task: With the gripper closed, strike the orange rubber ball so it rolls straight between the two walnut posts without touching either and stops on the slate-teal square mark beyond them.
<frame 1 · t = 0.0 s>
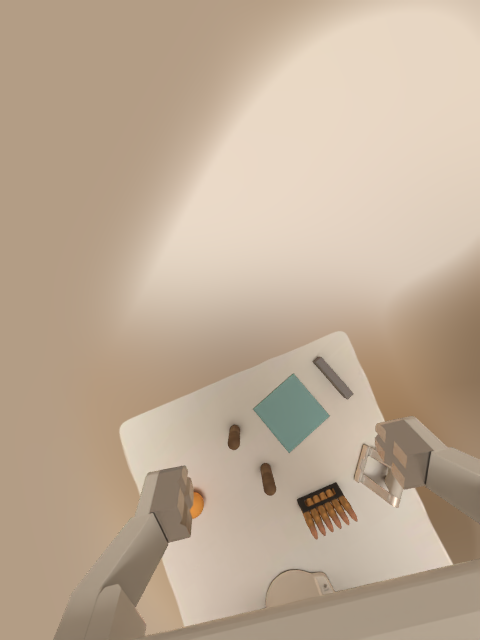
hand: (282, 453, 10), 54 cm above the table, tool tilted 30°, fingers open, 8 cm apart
post 1: (234, 430, 62), on the table
ball: (193, 505, 58), on the table
ammunition clip: (317, 494, 60), on the table
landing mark: (291, 412, 63), on the table
post 2: (265, 468, 61), on the table
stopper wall: (330, 376, 64), on the table
portable electronic device stand: (372, 465, 61), on the table
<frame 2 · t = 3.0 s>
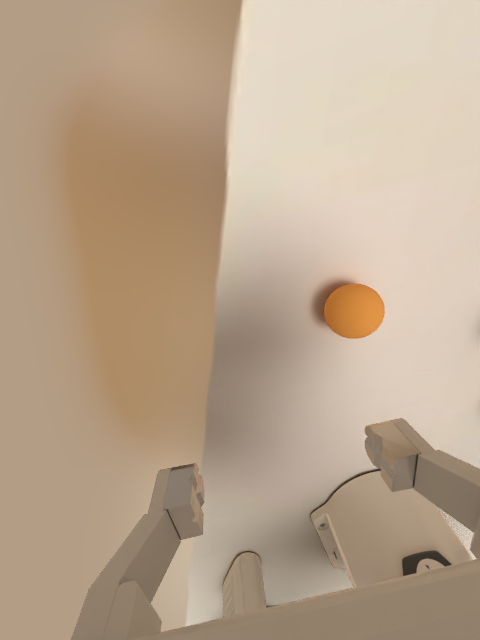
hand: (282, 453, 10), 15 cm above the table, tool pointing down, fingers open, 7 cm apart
ball: (352, 311, 22), on the table
photo printer: (240, 567, 40), on the table
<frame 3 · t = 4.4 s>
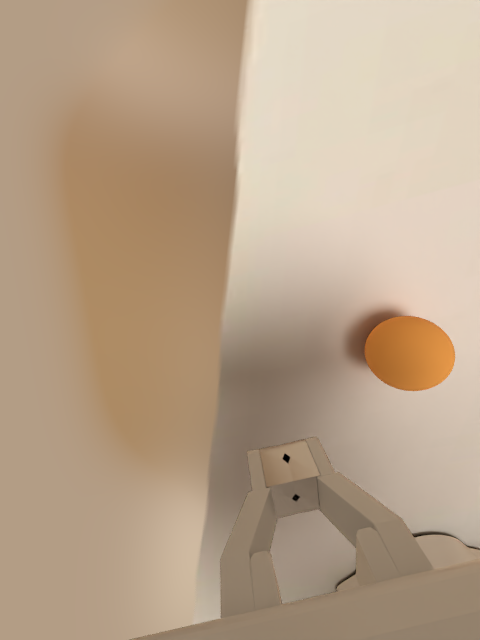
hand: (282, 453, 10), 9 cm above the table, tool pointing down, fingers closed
ball: (405, 352, 16), on the table
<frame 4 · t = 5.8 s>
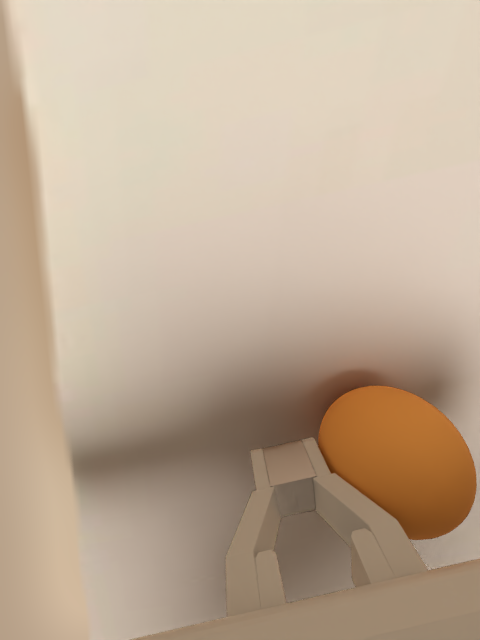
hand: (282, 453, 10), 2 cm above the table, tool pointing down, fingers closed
ball: (386, 452, 9), on the table, touching gripper
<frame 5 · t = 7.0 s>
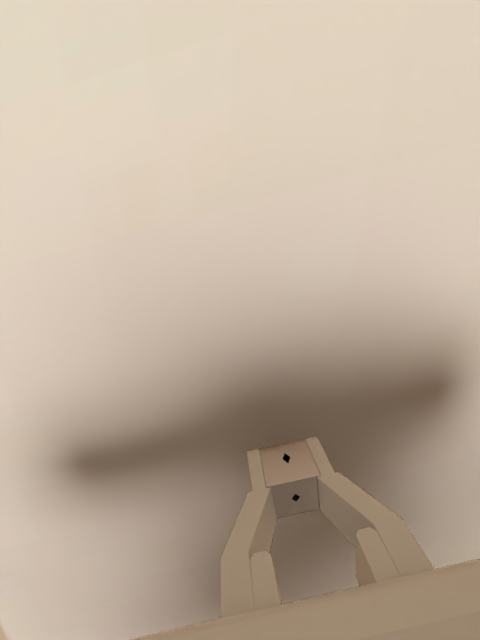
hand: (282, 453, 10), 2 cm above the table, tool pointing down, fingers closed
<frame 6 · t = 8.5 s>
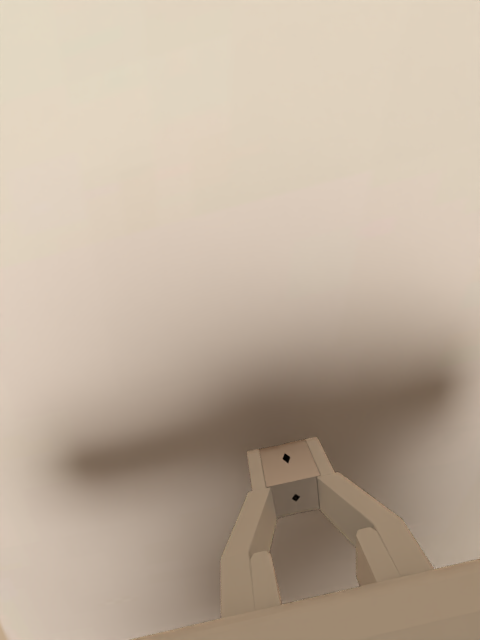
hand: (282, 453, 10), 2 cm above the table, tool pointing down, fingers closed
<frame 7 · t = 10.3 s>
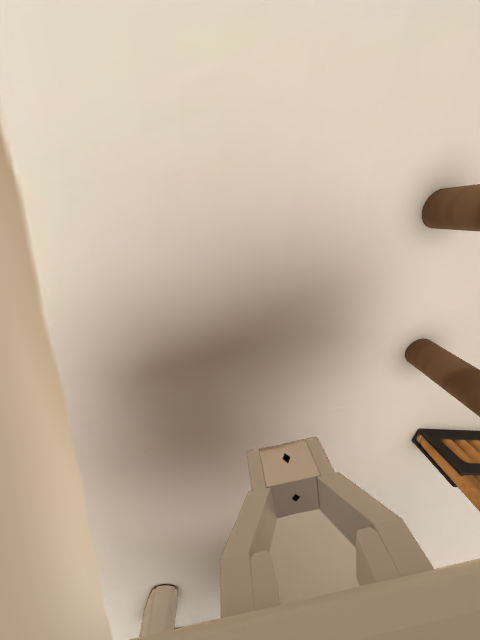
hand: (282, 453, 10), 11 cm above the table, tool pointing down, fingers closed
post 1: (440, 208, 17), on the table
ammunition clip: (454, 434, 28), on the table
post 2: (419, 351, 22), on the table
photo printer: (161, 597, 37), on the table
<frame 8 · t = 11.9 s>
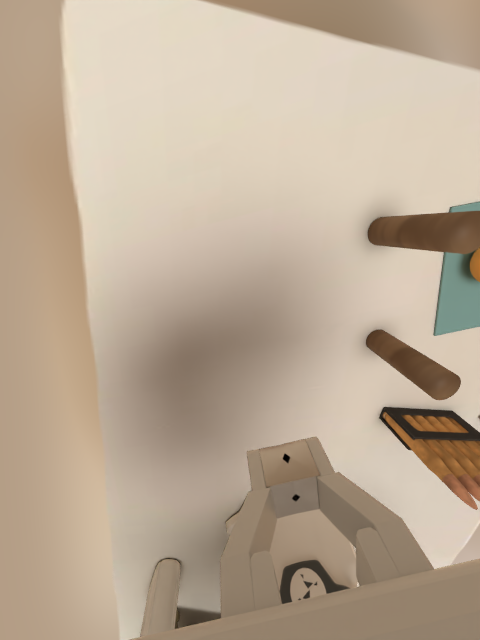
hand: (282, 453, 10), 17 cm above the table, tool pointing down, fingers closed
post 1: (380, 231, 24), on the table
ammunition clip: (415, 413, 33), on the table
post 2: (377, 339, 28), on the table
photo printer: (165, 573, 41), on the table
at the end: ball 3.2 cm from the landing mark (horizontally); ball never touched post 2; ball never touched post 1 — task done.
